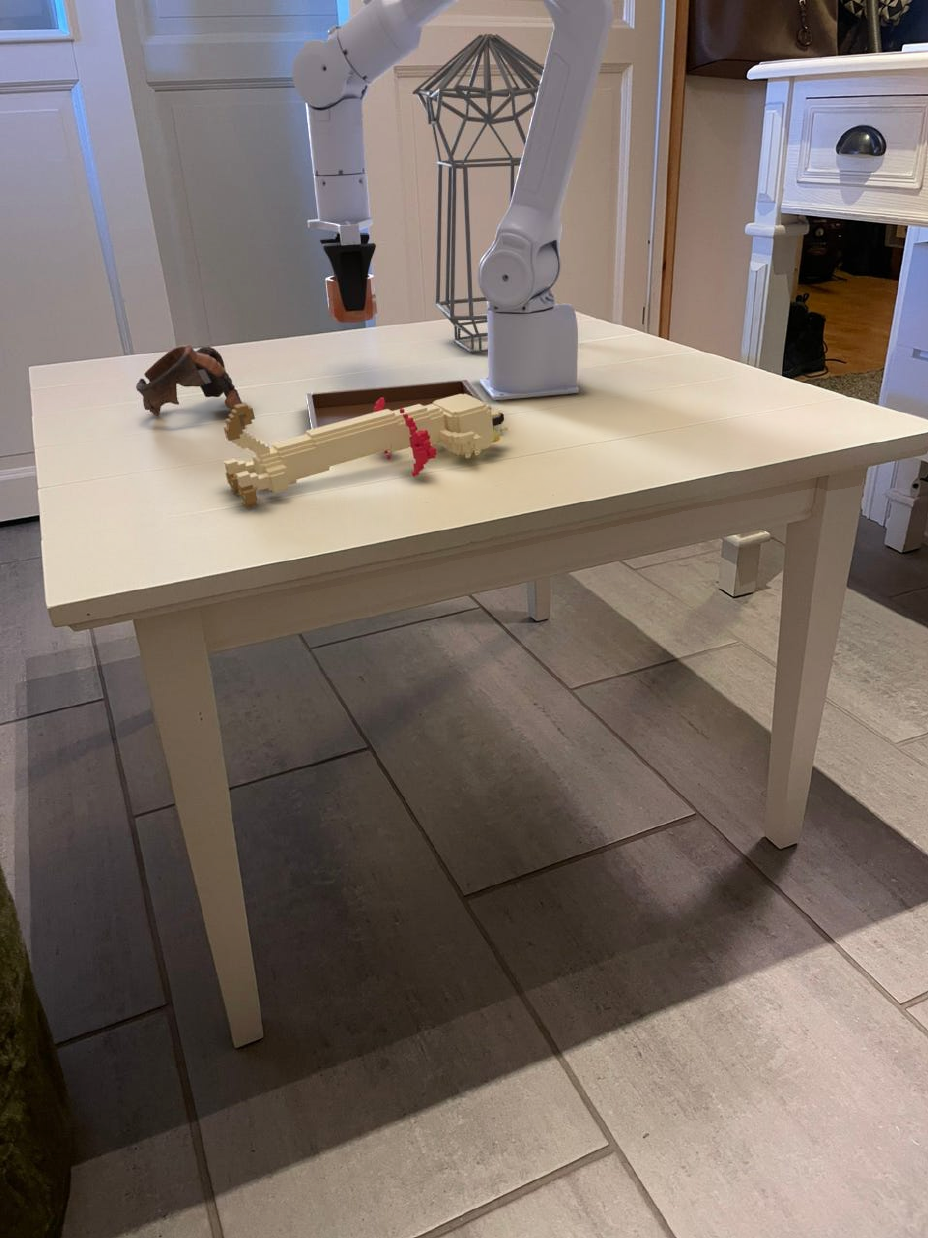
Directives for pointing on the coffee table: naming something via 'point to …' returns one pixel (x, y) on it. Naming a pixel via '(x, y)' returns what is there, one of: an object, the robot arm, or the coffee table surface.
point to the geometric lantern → (513, 60)
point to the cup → (338, 308)
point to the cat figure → (359, 441)
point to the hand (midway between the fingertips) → (352, 305)
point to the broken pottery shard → (186, 377)
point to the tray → (362, 401)
